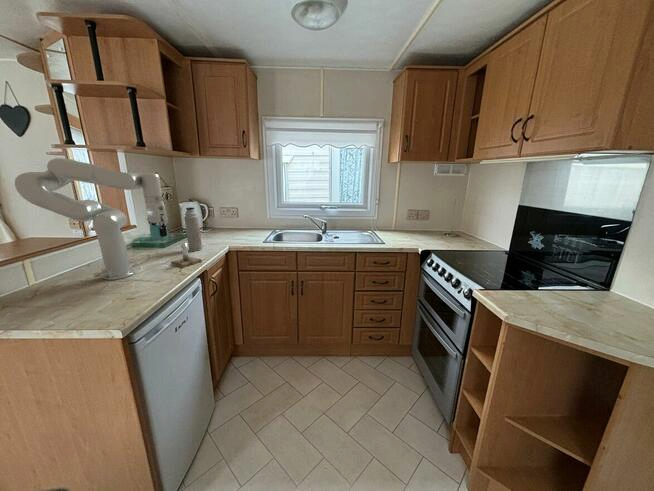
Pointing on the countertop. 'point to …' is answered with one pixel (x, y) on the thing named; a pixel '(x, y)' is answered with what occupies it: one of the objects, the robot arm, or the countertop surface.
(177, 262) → the post board
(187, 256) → the post
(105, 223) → the robot arm
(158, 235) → the teal block
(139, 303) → the countertop surface
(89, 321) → the countertop surface
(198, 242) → the thermos bottle
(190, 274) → the countertop surface
